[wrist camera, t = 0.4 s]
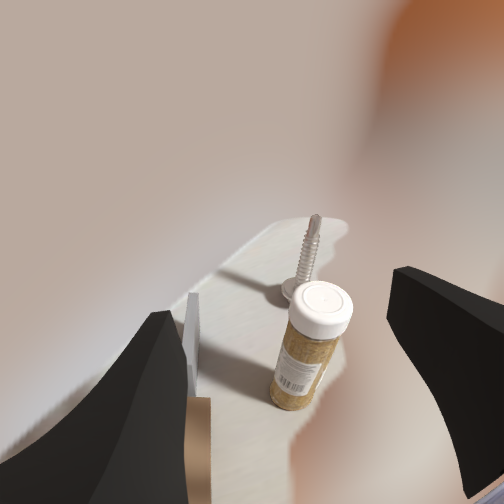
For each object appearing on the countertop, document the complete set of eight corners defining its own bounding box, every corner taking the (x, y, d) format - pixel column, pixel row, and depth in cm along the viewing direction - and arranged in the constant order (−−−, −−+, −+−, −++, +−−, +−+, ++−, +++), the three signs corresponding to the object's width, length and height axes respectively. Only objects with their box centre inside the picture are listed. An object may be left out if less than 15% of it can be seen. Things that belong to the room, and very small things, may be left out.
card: (195, 397, 27) (191, 364, 24) (183, 396, 27) (177, 363, 23) (200, 330, 34) (198, 293, 31) (189, 330, 34) (186, 292, 31)
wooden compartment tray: (215, 589, 11) (214, 593, 9) (92, 569, 10) (82, 570, 8) (210, 406, 26) (210, 397, 25) (112, 397, 25) (107, 387, 24)
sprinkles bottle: (320, 394, 28) (366, 301, 21) (290, 420, 26) (329, 332, 18) (290, 368, 31) (319, 270, 23) (258, 390, 28) (278, 294, 21)
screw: (315, 293, 42) (312, 317, 38) (282, 286, 42) (276, 309, 38) (338, 209, 34) (338, 228, 30) (297, 201, 35) (292, 219, 31)
